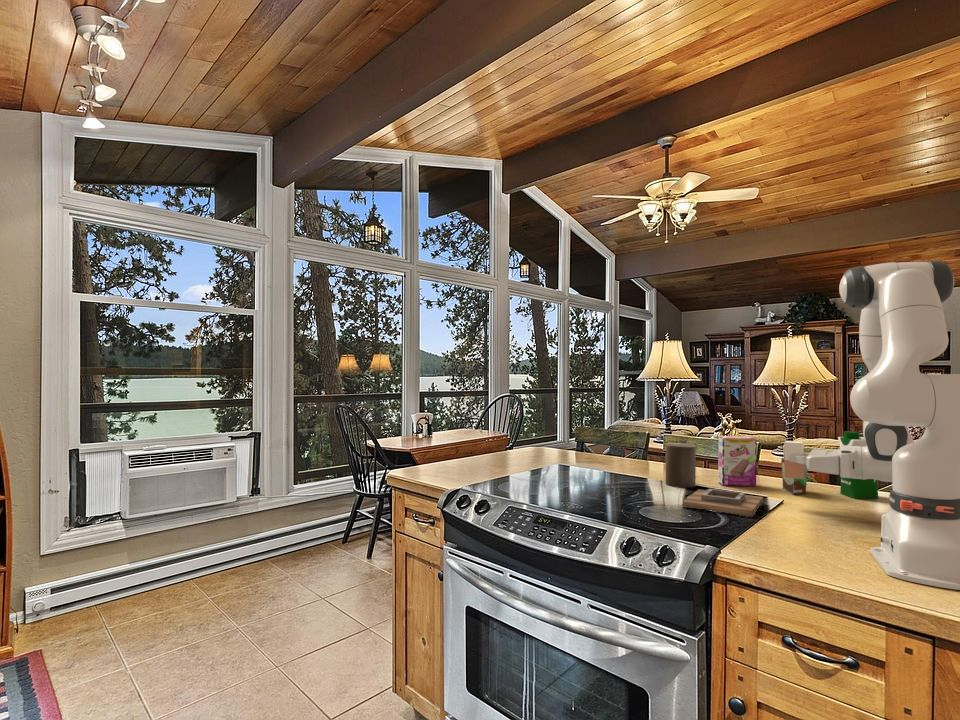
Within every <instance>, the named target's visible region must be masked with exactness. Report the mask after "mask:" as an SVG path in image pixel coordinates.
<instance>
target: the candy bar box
mask: <svg viewBox="0 0 960 720" xmlns="http://www.w3.org/2000/svg"><path fill="white" fill-rule="evenodd" d="M717 439H718V451H717V453H718V455H717V456H718V457H717V458H718V461H717V462H718V467H717V469H718V470H717V471H718V472H717V473H718V474H717V481H718V483H719V485H721V486H722V487H723V486H724V487H756V486H757V438H756V437H753V436H736V435H735V436H732V435H729V436H728V435H718V438H717Z"/></svg>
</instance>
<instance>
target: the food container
mask: <svg viewBox="0 0 960 720" xmlns="http://www.w3.org/2000/svg"><path fill="white" fill-rule="evenodd" d="M780 461H781V463H780V464H781V472H782V473H781V475H782V476H781V477H782V478H781V479H782V480H781V481H782V489H783V490H785V491H787V493H790V495H793V496H804V495H806V494H807V485H808V484H807V481H808V471H809V470H808V469H807V465H806V464H804V478H803V479H797V478H787V477H785V470H784V457H781V460H780ZM803 494H804V495H803Z"/></svg>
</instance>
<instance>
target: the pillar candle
mask: <svg viewBox="0 0 960 720" xmlns="http://www.w3.org/2000/svg"><path fill="white" fill-rule="evenodd" d="M696 448H697V447H696V445H695V444H692V443H684V442H683V443H682V442H681V441H679V442H668V443H665V484H666V485H667V484H668V485H667V486H670V485H671V487H675V486H678V487H677V488H695V487H696V483H697V482H696V477H697V476H696V472H697V471H696V468H697V467H696V465H697V464H696V463H697V462H696V458H697V455H696V451H697V449H696Z"/></svg>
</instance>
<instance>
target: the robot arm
mask: <svg viewBox="0 0 960 720" xmlns="http://www.w3.org/2000/svg"><path fill="white" fill-rule="evenodd" d="M954 276H955V275H954V272H953V270H952V268H951V267H950V266H949V265H948V263H946V262H944V261H940V260H939V261H938V260H937V261H936V260H927V261H903V262H901V261H900V262H895V261H894V262H893V261H892V262H884V263H878V264H871V265H866V266H864V265H858V266H854V267H851V268H849V269H847V270H846V271H845V272H844V273H843V275H842V278H841V279H840V283H839V288H838V290H839V292H838V293H839V295H840V298H841V300H842V303H843V304H844V305H846V306H847V308H851V309H855V310H861V312H860V317H859V325H858V326H859V327H858V329H859V330H858V334H859V335H858V336H859V337H858V339H859V340H858V342H859V348H860V354H861V358H862V361H863V362H864V365H866V367H867V370H868V373H866V374H865V375H863V376H862V377H860V379H858V380H857V381H856V382H855V384H854V385H853V387H852V389H851V391H850V395H849V401H850V402H849V403H850V407H851V408H852V410H853V412H854V414H855V415H856V416H857V417H858V418H859V419H861V426H862V434H863V437H864V439H865V441H866V443H867V446H865V447H863V446H847V445H841V450H840V448H839V449H833V450H832V449H823V448H813V449H812V450H810V452H804V456H795V455H791V456H790V457H789V461H790V462H795V463H800V464H806V465H807V469H808V470H807V471H813V472H817V473H821V474H822V473H823V474H828V475H838V476H839V477H840V478H841V477H842V478H852V479H864V480H865V479H877V481H880V482H886V483H888V482H889V483H891V484H892V488H891V489H890V490H889V496H888V499H889V507H890V509H889V510H888V511H887V512H885V513H884V514H882V515H881V527H880V529H881V535H880V536H881V537H880V543H881V546H872V547H871V548H870V554H871V555H872V556H873V559H875V560H876V562H877V563H878V564H879V566H880V567H881V568H882V570H883V571H884V572H885V574H887V575H888V576H890V577H894V578H897V579H899V580H902V581H903V580H904V581H907V582H912V583H915V584H916V583H917V584H920V585H921V584H922V585H927V586H931V587H936V588H944V589H949V590H956V591H960V373H921V371H920V365H921V364H924V363H926V362H928V361H931V360H934V359H935V358H937V357H939V356H940V355H942V354H943V353H944V352H945V351H946V349H947V348H948V345H949V340H950V339H949V335H948V328H947V324H946V319H945V314H944V313H945V312H944V308H943V304H942V303H944V302H945V301H947V300H948V299H949V298H950V297H951V295H952V293H953V289H954V286H955V277H954ZM909 427H924V428H925V429H924V431H923V432H924V433H923V435H921V436H920V438H918V440H916V441H914V439H913V437H912V435H911V433H910V431H909Z"/></svg>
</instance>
